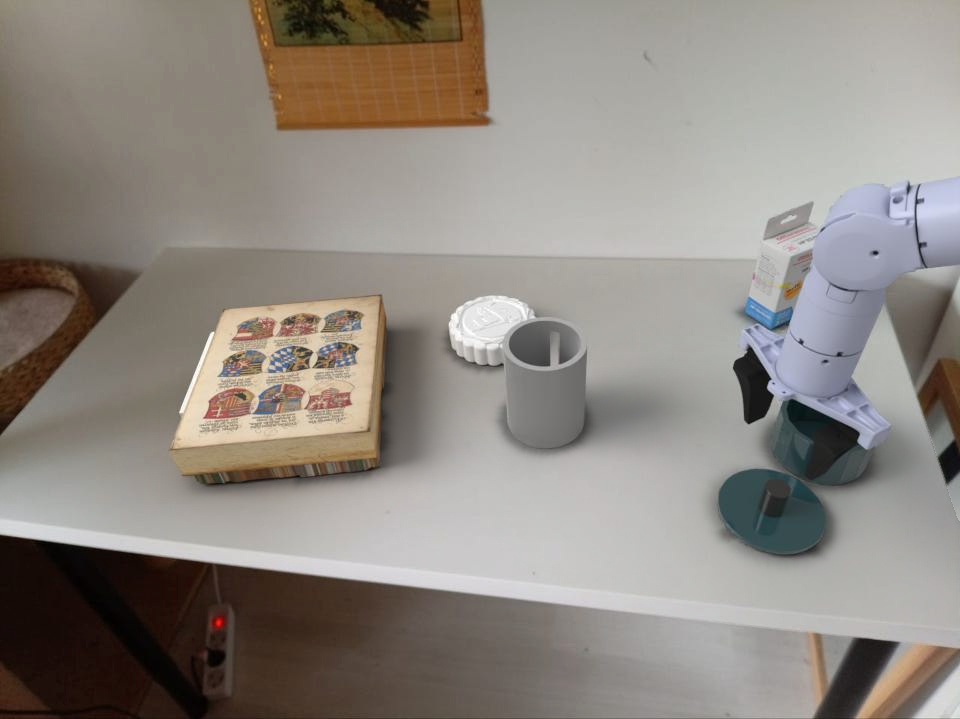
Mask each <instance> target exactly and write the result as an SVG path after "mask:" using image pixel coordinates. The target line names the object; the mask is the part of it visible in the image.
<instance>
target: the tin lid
mask: <svg viewBox="0 0 960 719" xmlns="http://www.w3.org/2000/svg"><path fill="white" fill-rule="evenodd" d="M716 501H717V502H716V503H717V510H718V514H719V516H720V519H721V520H722V522H723V524H724V525H725V527H726V528H727V529H728V530H729V532H731V533H732V534H733V535H734V536H735V537H736V538H737V539H739V540H740V541H741V542H742V543H745V544H746V545H748V546H750V547H752V548H754V549H756V550H759V551H762V552H764V553H765V552H766V553H770V554H776V555H795V554H800V553H802V552H806V551H808V550H809V549H811V548H812V547H814V546H815V545H817V543H819V541H820V540H821V539H822V537H823V535H824V532H825V530H826V526H827V517H826V511H825V508H824V506H823V503H822V501H821V500H820V498H819V497H818V496H817V494H815V493H814V491H813V490H811V489H810V488H809V487H808V486H807V485H806V484H804V483H803V482H802V481H800V480H799V479H797V478H795V477H793V476H792V475H790V474H787V473H784V472H781V471H777V470H774V469H767V468H749V469H744V470H741V471H738V472H736V473H734V474H732V475H731V476H729V477H728V478H727V479H726V480H725V481H724V482H723V483H722V485H721V487H720V488H719V492H718V494H717V500H716Z"/></svg>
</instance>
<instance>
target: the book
mask: <svg viewBox="0 0 960 719" xmlns="http://www.w3.org/2000/svg"><path fill="white" fill-rule="evenodd" d="M387 338H388V328H387V314H386V309H385V304H384V298H383V294H380V293H379V294H371V295H361V296H359V295H358V296H350V297H339V298H328V299H318V300H306V301H298V302H297V301H295V302H285V303H276V304H275V303H273V304H266V305H265V304H264V305H253V306H243V307H233V308H223V309H222V311H221V314H220V317H219V320H218V322H217V325H216V327H215V329H214V331H211V332H209V335H208V339H207V341H206V344H205V346H204V349H203V351H202V353H201V356H200V358H199V361H198V364H197V366H196V368H195V372H194V373H193V377H192V378H191V381H190V383H189V384H190V385H189V386H188V389H187V392H186V394H185V397H184V399H183V402H182V404H181V407H180V409H179V412H178V414H179V417H180V421H179V423H178V426H177V429H176V431H175V433H174V436H173V438H172V441H171V444H170V447H169V450H168V452H169V455H170V456H171V458H172V460H173V462H174V464H175V465H176V467H177V469H178V471H179V473H180V475H181V476H182V477H189V476H194V478H195V479H196V482H198V483H199V484H201V485H203V484H205V485H206V484H216V483H217V484H226V483H227V482H233V483H241V482H245V481H253V480H255V481H256V480H262V479H275V478H280V479H282V478H290V477H297V476H300V478H308V477H315V476H322V475H332V474H333V475H334V474H336V473H355V472H361V471H367V470H368V469H370V468H376V467H379V466H380V458H381V457H380V456H381V451H380V450H381V442H382V441H381V439H382V426H383V423H382V422H383V421H382V420H383V416H382V411H381V401H382V391H383V389H384V388H385V377H386V376H385V374H386V371H385V369H386V351H387V342H388V341H387V340H388V339H387Z"/></svg>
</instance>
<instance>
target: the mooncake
mask: <svg viewBox="0 0 960 719" xmlns="http://www.w3.org/2000/svg"><path fill="white" fill-rule="evenodd" d="M535 314H536V313H535V310H534V309H533V308H531V307H530V306H529V305H528V303H526V302H524V301H520V299H518V298H516V297H511V298H510V297H509V296H507V295H493V294H492V295H485V296H478V297H477V298H475V299H474V300H468V301H466V302H465V303H463V305H460V306H458V307H457V308H456V309H455V312H453V313H452V314H451V315H450V321H449V322H448V331H449V337H450V340H449V341H450V343H451V348H452V350H454V351H456V354H457V356H458V357H459V358H464V359H465V360H466V361H467V362H468V363H476V364H477V365H479V366H486V365H489V366H492V367H497V366H499V365H501V364H503V365H504V360H503V339H504V336H505V334H506V333H507V332H508V331H509V329H510V328H512V327H513V326H515V325H516V324H518V323H520V322H523V321H525V320H528V319H532V318H537V316H536V315H535Z"/></svg>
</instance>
